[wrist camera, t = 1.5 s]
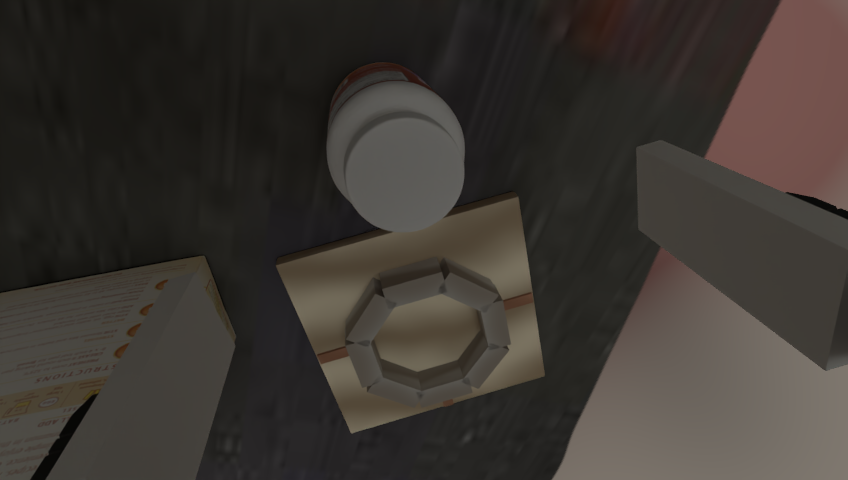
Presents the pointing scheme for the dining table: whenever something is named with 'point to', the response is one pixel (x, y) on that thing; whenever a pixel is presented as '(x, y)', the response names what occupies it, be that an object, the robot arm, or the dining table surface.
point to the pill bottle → (394, 148)
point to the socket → (420, 312)
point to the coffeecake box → (71, 350)
